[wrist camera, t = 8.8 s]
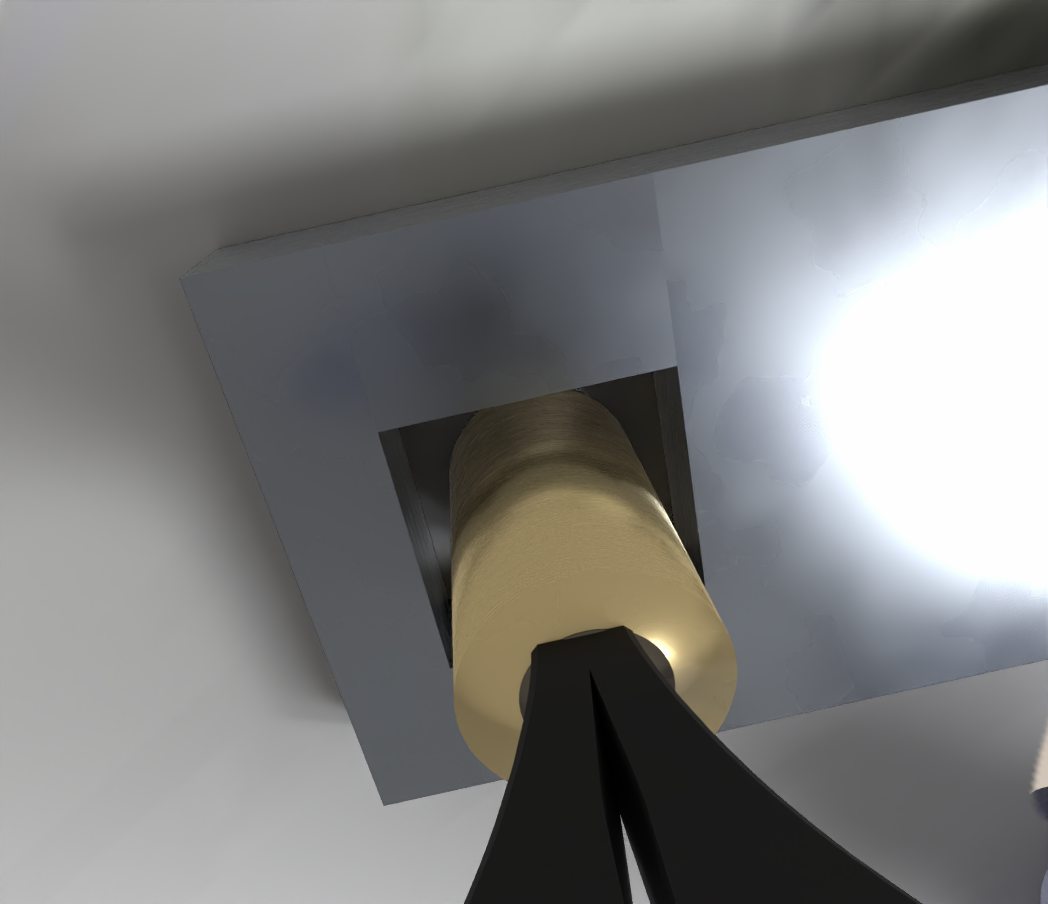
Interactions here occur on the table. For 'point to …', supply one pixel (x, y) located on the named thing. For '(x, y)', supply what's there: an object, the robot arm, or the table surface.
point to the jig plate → (685, 396)
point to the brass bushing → (566, 565)
